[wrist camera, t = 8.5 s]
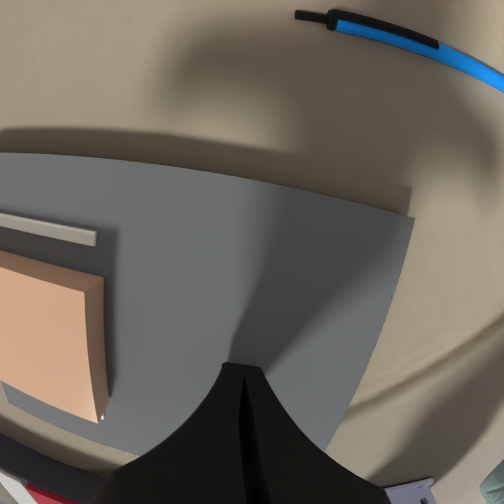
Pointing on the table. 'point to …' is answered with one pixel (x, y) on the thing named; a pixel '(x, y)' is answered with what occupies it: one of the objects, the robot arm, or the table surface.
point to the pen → (404, 41)
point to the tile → (53, 335)
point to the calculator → (43, 477)
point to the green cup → (494, 486)
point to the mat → (207, 286)
